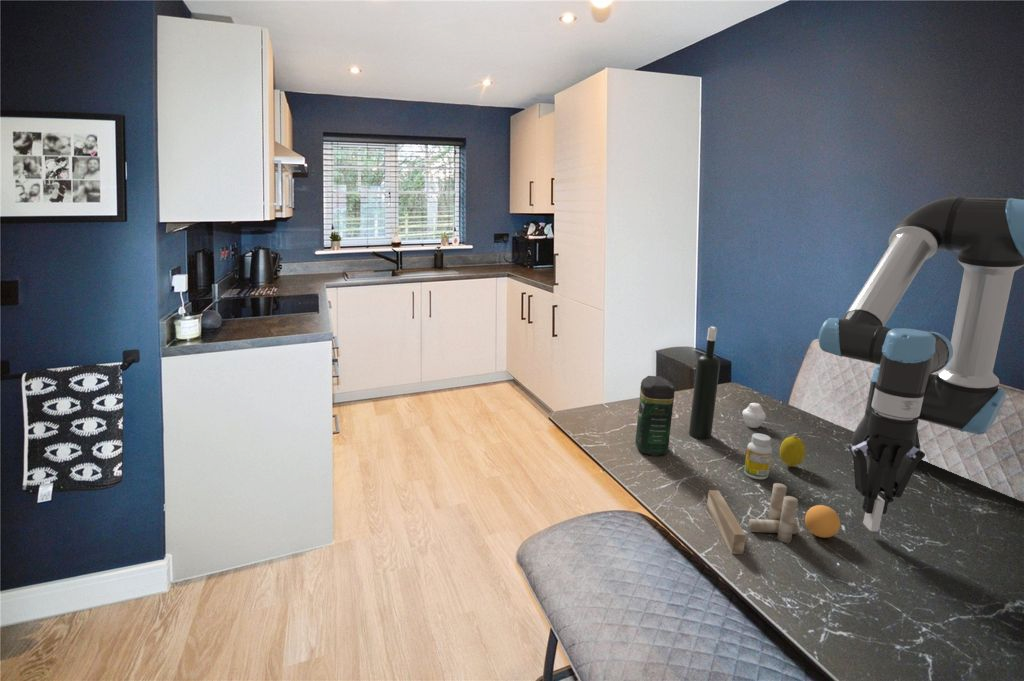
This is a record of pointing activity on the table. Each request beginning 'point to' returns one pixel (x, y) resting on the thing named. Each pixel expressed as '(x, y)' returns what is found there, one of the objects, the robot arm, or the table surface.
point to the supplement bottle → (758, 457)
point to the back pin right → (777, 501)
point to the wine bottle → (705, 390)
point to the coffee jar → (654, 415)
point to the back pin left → (787, 519)
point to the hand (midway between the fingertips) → (870, 527)
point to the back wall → (726, 522)
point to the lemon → (792, 451)
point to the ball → (822, 521)
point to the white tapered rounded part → (753, 415)
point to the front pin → (767, 526)
